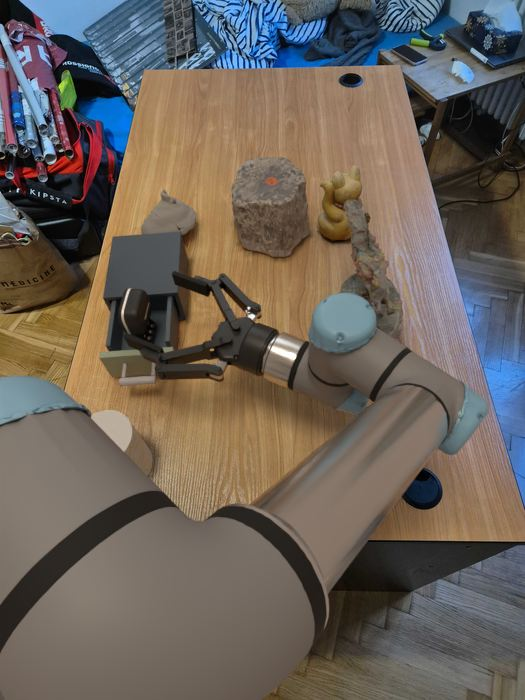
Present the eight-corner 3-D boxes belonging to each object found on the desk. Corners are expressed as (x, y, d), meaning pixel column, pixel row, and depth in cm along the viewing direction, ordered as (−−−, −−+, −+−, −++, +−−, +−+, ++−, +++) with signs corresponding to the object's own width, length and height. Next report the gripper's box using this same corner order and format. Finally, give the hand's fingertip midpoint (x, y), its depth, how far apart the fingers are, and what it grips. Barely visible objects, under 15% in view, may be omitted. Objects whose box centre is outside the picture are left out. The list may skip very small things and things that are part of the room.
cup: (130, 498, 73) (105, 475, 63) (92, 472, 76) (62, 445, 66) (162, 455, 77) (143, 426, 67) (125, 432, 79) (101, 400, 69)
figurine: (329, 279, 95) (341, 175, 74) (393, 280, 94) (424, 175, 73) (331, 365, 84) (345, 272, 63) (403, 367, 84) (443, 273, 62)
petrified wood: (240, 197, 110) (234, 138, 97) (314, 202, 108) (317, 143, 95) (224, 255, 100) (215, 199, 87) (305, 262, 98) (308, 205, 85)
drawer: (179, 393, 82) (171, 374, 76) (109, 398, 82) (95, 379, 76) (183, 308, 92) (176, 286, 86) (120, 313, 92) (109, 291, 86)
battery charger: (155, 354, 85) (138, 317, 75) (134, 353, 85) (115, 316, 76) (162, 323, 89) (147, 284, 79) (142, 322, 89) (125, 283, 79)
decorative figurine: (345, 212, 105) (353, 153, 93) (369, 233, 102) (381, 175, 89) (311, 231, 103) (314, 172, 90) (335, 253, 99) (342, 195, 86)
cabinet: (186, 320, 91) (177, 292, 84) (117, 325, 91) (102, 298, 84) (188, 261, 100) (180, 231, 92) (125, 266, 100) (112, 236, 93)
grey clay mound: (156, 223, 110) (149, 178, 103) (205, 227, 109) (201, 182, 102) (137, 248, 101) (128, 201, 94) (190, 253, 100) (184, 206, 93)
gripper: (234, 436, 66) (113, 380, 72) (304, 308, 78) (195, 269, 84) (228, 413, 60) (96, 355, 66) (305, 278, 72) (188, 238, 77)
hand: (151, 307), depth 75 cm, fingers open, 13 cm apart
